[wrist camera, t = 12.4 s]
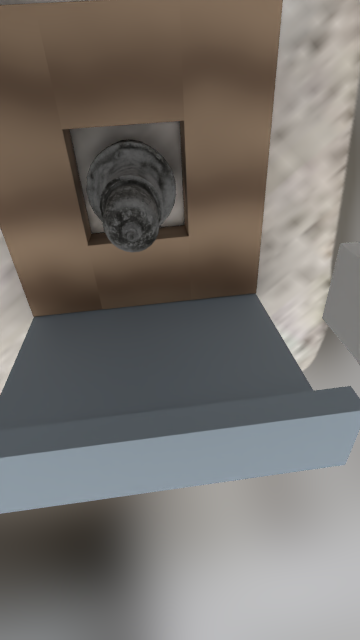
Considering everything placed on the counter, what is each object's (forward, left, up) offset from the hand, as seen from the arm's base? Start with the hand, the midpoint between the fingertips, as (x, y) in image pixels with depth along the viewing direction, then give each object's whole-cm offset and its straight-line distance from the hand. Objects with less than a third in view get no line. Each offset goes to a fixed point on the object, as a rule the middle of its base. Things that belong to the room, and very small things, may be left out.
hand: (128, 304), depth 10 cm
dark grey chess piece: (0, 0, -18) cm, 18 cm away
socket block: (0, 0, -18) cm, 18 cm away
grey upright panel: (+10, 0, -18) cm, 20 cm away
